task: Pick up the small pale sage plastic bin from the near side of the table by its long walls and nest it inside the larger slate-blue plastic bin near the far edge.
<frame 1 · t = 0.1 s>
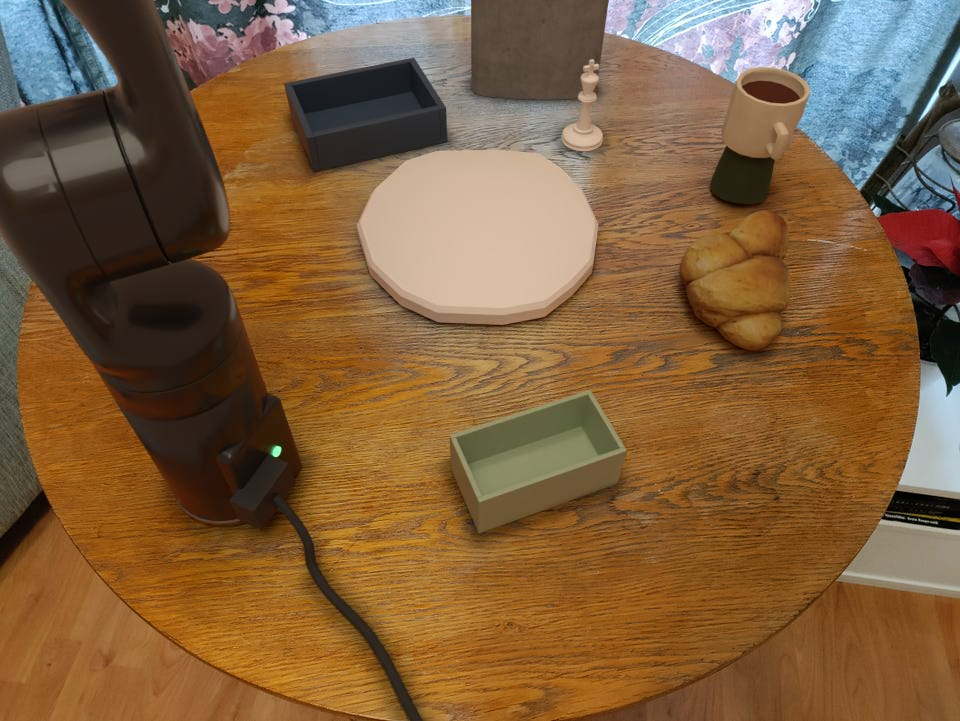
decorative plate: (477, 239, 80), on the table
chess piece: (581, 140, 91), on the table
big bin: (368, 129, 92), on the table
bread roll: (726, 309, 74), on the table
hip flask: (533, 93, 97), on the table
small bin: (533, 476, 62), on the table
character mug: (737, 193, 85), on the table
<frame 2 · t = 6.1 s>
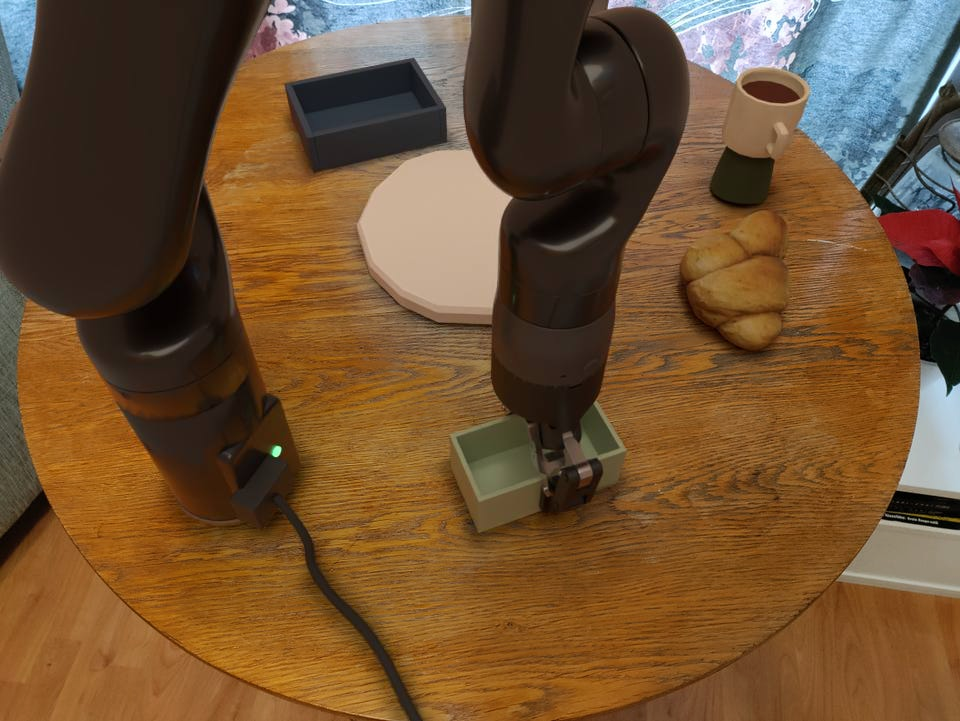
hand: (535, 471, 61), 1 cm above the table, tool pointing down, fingers closed on small bin, 6 cm apart
small bin: (533, 475, 62), on the table, touching gripper
everything else where it was.
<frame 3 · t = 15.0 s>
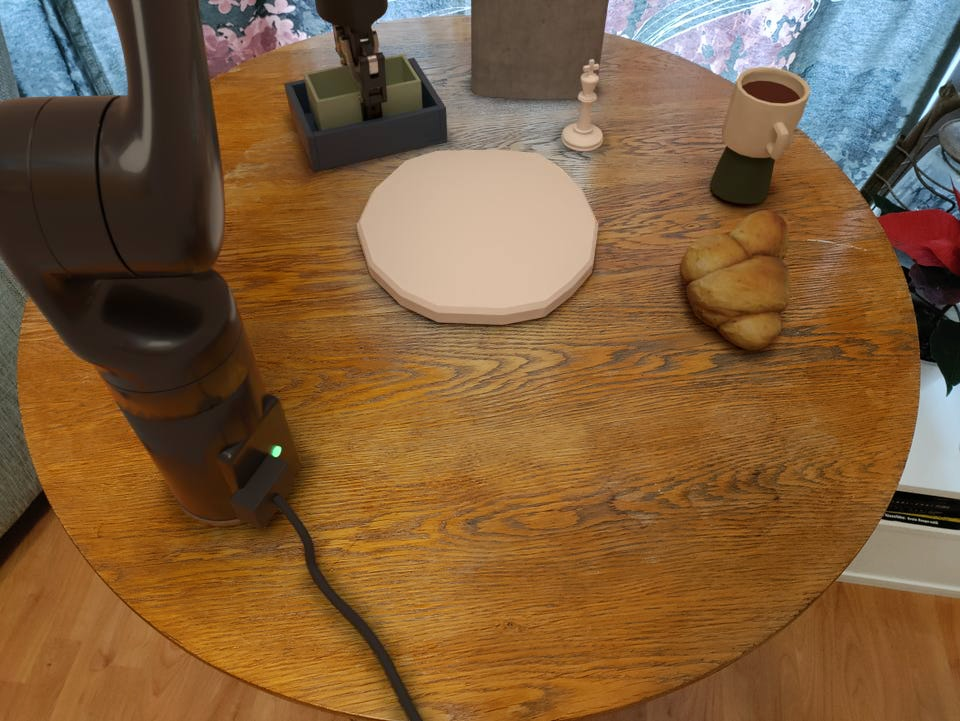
hand: (365, 111, 90), 2 cm above the table, tool pointing down, fingers closed on small bin, 6 cm apart
small bin: (366, 115, 90), point 2 cm above the table, touching gripper
everything else where it was.
when the fingers open (3 cm above the table, at t = 21.4 s): small bin stays where it is, resting on big bin.
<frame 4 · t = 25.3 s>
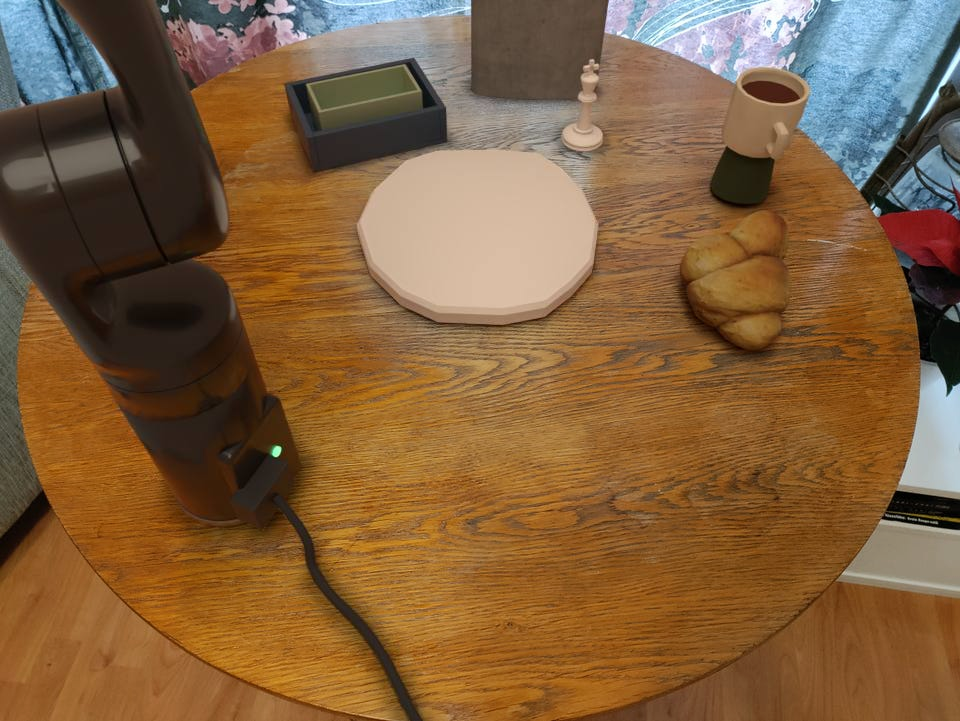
small bin: (368, 125, 91), point 1 cm above the table, touching big bin
everything else where it was.
at the end: small bin 0.1 cm off-centre in the big bin, point 0.6 cm above the big bin's base; small bin tilted 0°; the gripper is holding nothing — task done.
